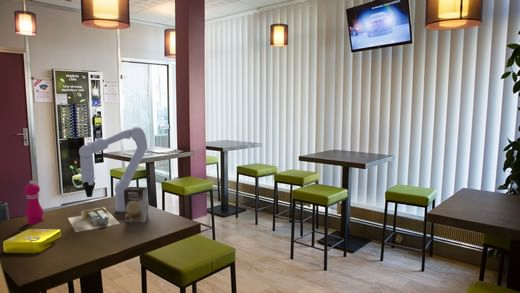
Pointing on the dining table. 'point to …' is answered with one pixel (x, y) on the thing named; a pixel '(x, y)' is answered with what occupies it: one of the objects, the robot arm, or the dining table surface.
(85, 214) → the tan wooden arch piece
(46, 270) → the dining table surface
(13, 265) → the dining table surface
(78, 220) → the board
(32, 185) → the pepper mill
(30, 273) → the dining table surface
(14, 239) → the element tile
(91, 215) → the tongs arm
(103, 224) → the grey long bar
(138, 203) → the coffee box
